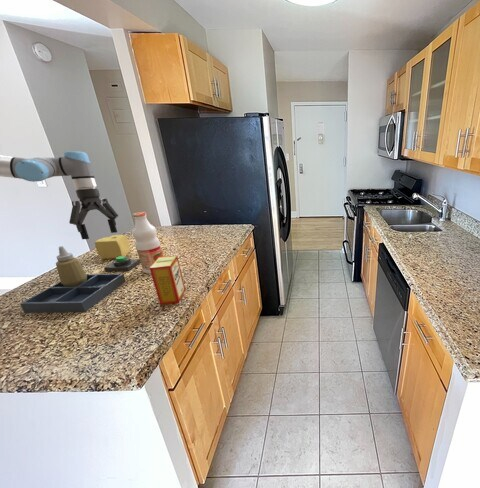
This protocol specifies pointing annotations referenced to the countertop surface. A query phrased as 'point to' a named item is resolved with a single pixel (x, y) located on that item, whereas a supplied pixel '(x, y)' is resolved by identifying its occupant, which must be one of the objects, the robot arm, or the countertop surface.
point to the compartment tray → (74, 295)
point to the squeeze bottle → (69, 269)
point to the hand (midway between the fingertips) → (100, 235)
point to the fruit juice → (146, 241)
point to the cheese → (112, 246)
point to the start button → (120, 258)
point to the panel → (122, 265)
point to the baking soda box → (168, 279)
